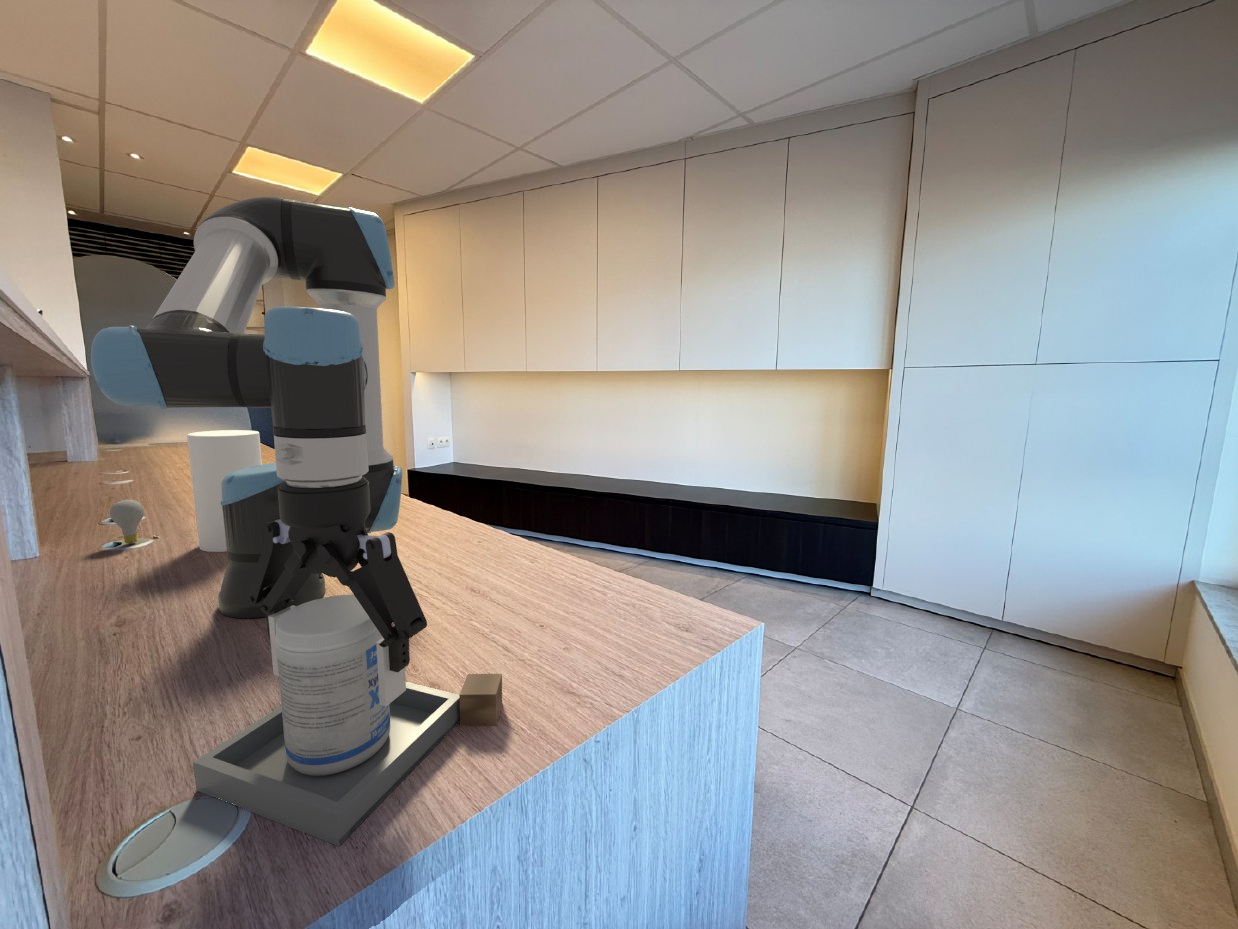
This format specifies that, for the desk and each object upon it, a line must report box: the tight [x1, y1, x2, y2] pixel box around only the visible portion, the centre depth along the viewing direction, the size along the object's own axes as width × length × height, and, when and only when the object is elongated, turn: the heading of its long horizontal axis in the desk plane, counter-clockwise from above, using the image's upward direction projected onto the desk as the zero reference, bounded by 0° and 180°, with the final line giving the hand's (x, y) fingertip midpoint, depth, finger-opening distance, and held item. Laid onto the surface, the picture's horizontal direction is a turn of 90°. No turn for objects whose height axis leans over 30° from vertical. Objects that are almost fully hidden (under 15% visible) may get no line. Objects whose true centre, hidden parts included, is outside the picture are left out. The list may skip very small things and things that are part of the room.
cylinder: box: [186, 429, 263, 553], centre depth 113 cm, size 12×12×25 cm
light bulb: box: [109, 499, 145, 545], centre depth 111 cm, size 6×6×10 cm
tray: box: [192, 681, 460, 847], centre depth 52 cm, size 17×17×3 cm
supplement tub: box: [275, 594, 390, 776], centre depth 51 cm, size 10×10×15 cm
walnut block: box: [458, 673, 503, 727], centre depth 59 cm, size 4×4×4 cm
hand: (338, 682), depth 52 cm, fingers open, 13 cm apart
